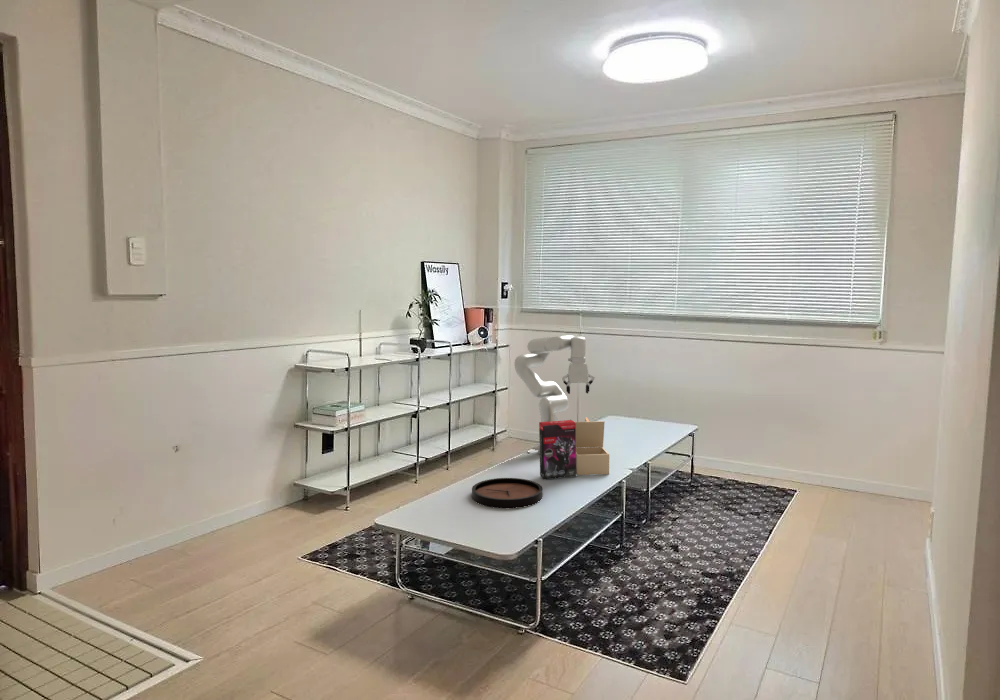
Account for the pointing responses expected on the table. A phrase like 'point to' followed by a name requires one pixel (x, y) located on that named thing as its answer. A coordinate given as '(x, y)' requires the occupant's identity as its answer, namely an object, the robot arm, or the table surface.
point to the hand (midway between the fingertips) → (577, 393)
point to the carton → (592, 461)
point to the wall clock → (507, 492)
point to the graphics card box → (557, 449)
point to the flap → (589, 433)
